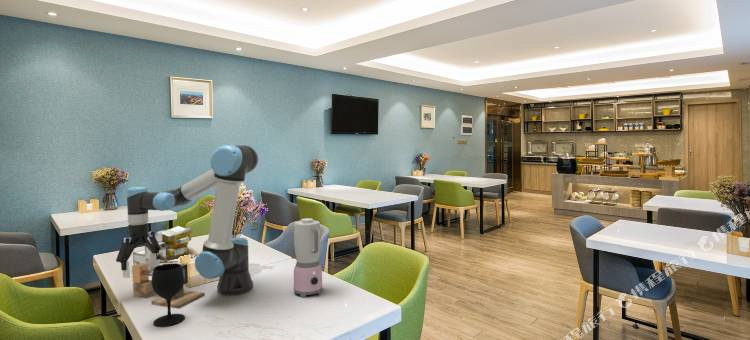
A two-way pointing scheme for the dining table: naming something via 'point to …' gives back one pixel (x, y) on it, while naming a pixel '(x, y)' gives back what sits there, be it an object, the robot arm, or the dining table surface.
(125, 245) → the robot arm
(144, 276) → the hook
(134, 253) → the toy llama
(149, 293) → the rest block
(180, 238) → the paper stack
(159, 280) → the wine glass
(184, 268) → the eye post
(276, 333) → the dining table surface
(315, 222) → the blender
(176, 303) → the base board
